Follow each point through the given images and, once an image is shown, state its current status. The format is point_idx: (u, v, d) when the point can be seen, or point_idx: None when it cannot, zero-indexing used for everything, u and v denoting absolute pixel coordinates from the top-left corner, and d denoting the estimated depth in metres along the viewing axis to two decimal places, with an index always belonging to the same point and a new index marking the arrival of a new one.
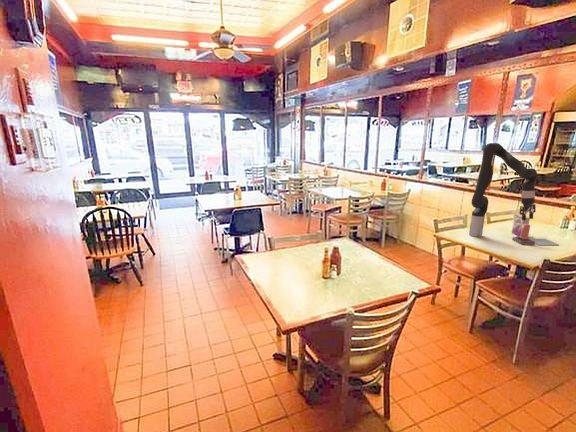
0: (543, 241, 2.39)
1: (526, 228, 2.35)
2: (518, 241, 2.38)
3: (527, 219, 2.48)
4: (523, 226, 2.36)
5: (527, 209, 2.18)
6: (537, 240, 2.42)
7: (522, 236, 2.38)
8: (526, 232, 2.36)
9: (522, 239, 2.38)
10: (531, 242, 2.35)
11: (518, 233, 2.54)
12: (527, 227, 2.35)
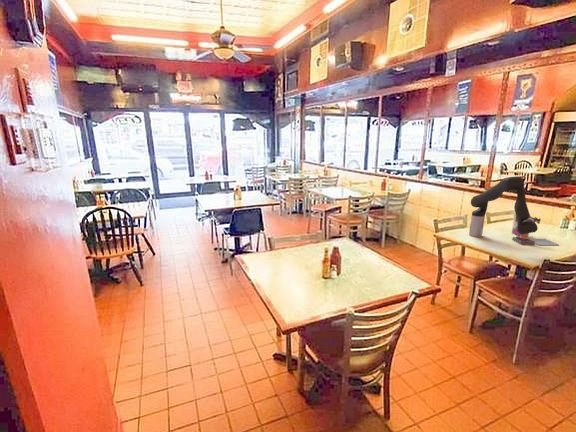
0: (543, 241, 2.39)
1: None
2: (518, 241, 2.38)
3: None
4: None
5: None
6: (537, 240, 2.42)
7: (522, 236, 2.38)
8: None
9: (522, 239, 2.38)
10: (531, 242, 2.35)
11: (518, 233, 2.54)
12: None
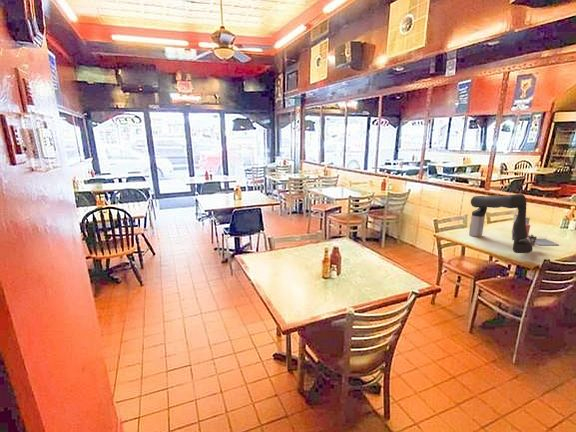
0: (543, 241, 2.39)
1: (526, 228, 2.35)
2: None
3: (527, 219, 2.48)
4: None
5: None
6: (537, 240, 2.42)
7: None
8: None
9: None
10: (531, 242, 2.35)
11: None
12: (527, 227, 2.35)
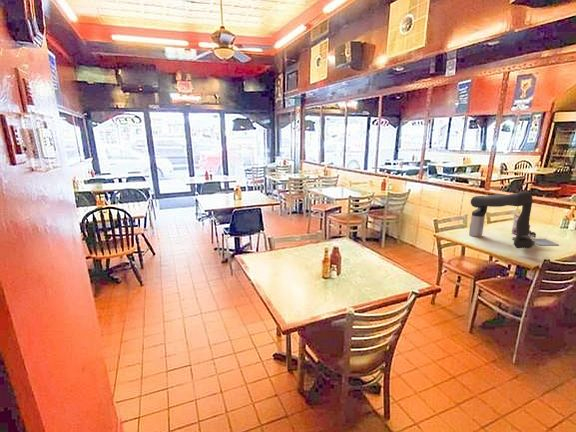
0: (543, 241, 2.39)
1: None
2: None
3: None
4: None
5: None
6: (537, 240, 2.42)
7: None
8: None
9: None
10: None
11: None
12: None
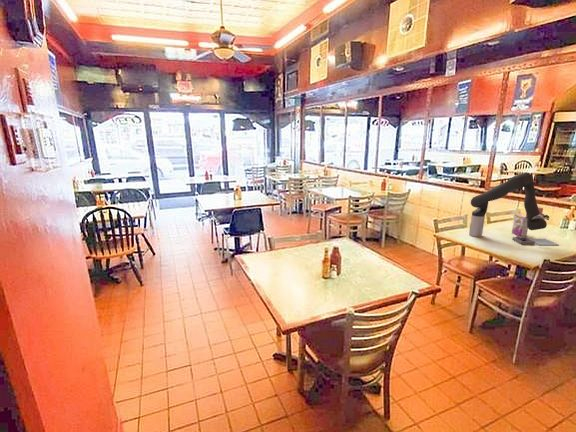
0: (543, 241, 2.39)
1: (539, 211, 2.31)
2: (518, 241, 2.38)
3: None
4: None
5: None
6: (537, 240, 2.42)
7: None
8: None
9: None
10: (531, 242, 2.35)
11: (518, 233, 2.54)
12: (540, 210, 2.30)
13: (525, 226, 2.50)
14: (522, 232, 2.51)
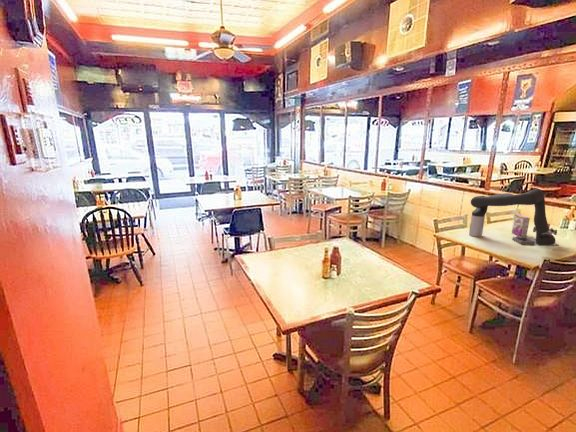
0: None
1: None
2: (518, 241, 2.38)
3: (527, 219, 2.48)
4: None
5: None
6: None
7: None
8: None
9: None
10: (531, 242, 2.35)
11: (518, 233, 2.54)
12: None
13: (525, 226, 2.50)
14: (522, 232, 2.51)
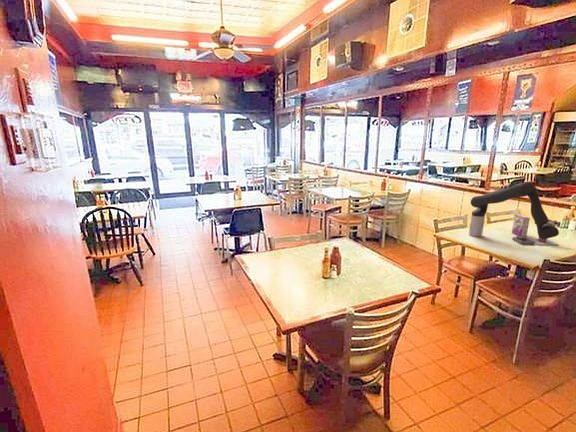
0: None
1: None
2: (518, 241, 2.38)
3: (527, 219, 2.48)
4: None
5: None
6: (537, 240, 2.42)
7: None
8: None
9: None
10: (531, 242, 2.35)
11: (518, 233, 2.54)
12: None
13: (525, 226, 2.50)
14: (522, 232, 2.51)
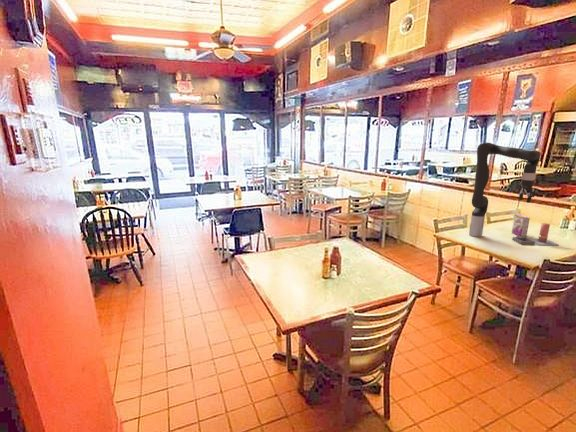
0: None
1: (546, 227, 2.34)
2: (518, 241, 2.38)
3: (527, 219, 2.48)
4: (543, 225, 2.35)
5: None
6: (537, 240, 2.42)
7: (541, 235, 2.37)
8: (546, 231, 2.35)
9: (541, 238, 2.37)
10: (531, 242, 2.35)
11: (518, 233, 2.54)
12: (547, 226, 2.34)
13: (525, 226, 2.50)
14: (522, 232, 2.51)
